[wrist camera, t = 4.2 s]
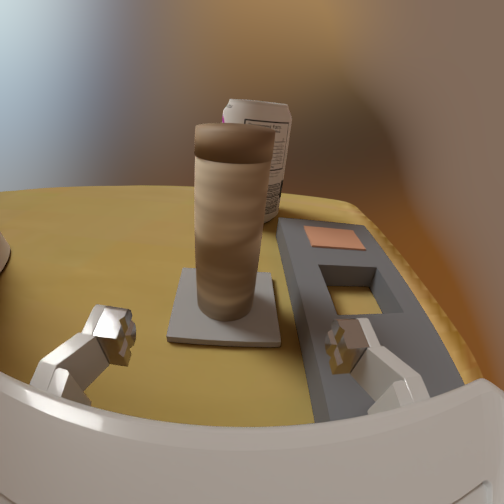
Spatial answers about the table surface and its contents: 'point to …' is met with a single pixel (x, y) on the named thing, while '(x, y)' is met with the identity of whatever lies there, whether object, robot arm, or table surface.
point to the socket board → (323, 313)
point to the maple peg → (229, 214)
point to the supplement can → (279, 121)
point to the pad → (224, 332)
